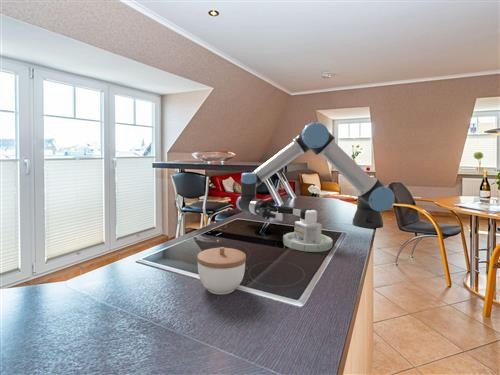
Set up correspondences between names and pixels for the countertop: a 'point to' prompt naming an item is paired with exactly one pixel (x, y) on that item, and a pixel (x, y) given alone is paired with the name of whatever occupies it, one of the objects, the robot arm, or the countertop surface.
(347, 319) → the countertop surface
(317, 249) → the round tray
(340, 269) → the countertop surface
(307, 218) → the container
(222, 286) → the lidded bowl
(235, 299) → the countertop surface
